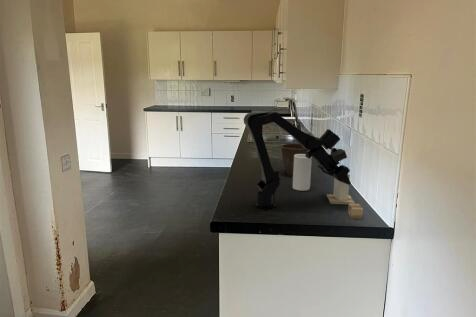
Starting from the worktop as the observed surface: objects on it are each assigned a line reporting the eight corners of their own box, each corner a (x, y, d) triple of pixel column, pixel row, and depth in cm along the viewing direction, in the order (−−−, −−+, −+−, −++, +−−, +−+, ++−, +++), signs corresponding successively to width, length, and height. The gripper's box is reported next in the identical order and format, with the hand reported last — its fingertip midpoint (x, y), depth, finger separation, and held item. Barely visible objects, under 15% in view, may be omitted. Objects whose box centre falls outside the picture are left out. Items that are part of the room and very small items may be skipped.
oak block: (362, 219, 134) (363, 209, 133) (351, 219, 134) (352, 209, 133) (358, 213, 140) (359, 203, 139) (348, 213, 140) (348, 203, 139)
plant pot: (285, 170, 204) (286, 142, 200) (311, 173, 198) (312, 144, 194) (276, 176, 191) (277, 147, 187) (303, 179, 185) (304, 149, 181)
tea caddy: (339, 200, 151) (341, 175, 149) (333, 196, 157) (334, 171, 154) (348, 199, 152) (349, 174, 150) (341, 195, 157) (343, 171, 155)
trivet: (354, 204, 149) (354, 202, 149) (330, 203, 150) (330, 201, 150) (349, 196, 159) (349, 194, 159) (326, 196, 160) (326, 194, 160)
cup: (300, 184, 176) (302, 153, 173) (313, 188, 170) (315, 156, 167) (289, 187, 171) (290, 155, 168) (302, 191, 165) (303, 157, 162)
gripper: (347, 147, 139) (369, 173, 144) (325, 139, 157) (346, 162, 162) (327, 168, 139) (350, 192, 144) (308, 157, 157) (329, 180, 162)
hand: (344, 181), depth 153 cm, fingers open, 9 cm apart
